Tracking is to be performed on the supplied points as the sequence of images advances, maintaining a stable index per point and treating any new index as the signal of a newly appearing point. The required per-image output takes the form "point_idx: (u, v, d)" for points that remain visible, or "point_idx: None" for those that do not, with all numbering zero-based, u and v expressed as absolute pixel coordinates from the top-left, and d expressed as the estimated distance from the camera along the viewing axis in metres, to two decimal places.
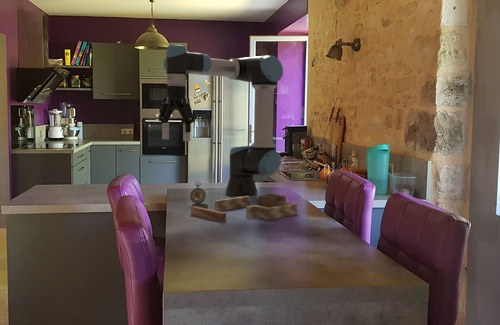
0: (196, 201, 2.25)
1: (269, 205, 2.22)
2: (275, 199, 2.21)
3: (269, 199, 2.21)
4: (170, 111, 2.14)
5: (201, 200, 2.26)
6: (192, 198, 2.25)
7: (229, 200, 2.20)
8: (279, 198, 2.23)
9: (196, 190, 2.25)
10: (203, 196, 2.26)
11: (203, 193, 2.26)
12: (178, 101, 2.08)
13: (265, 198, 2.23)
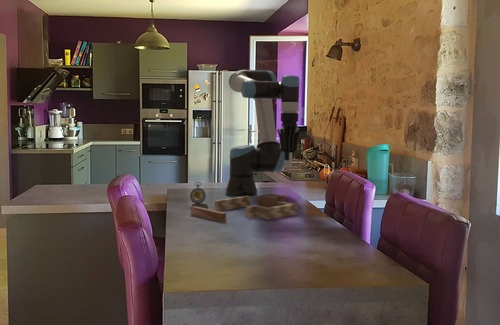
0: (196, 201, 2.25)
1: (270, 205, 2.21)
2: (276, 199, 2.21)
3: (270, 199, 2.21)
4: (290, 137, 2.31)
5: (201, 200, 2.26)
6: (192, 198, 2.25)
7: (229, 200, 2.20)
8: (280, 198, 2.23)
9: (196, 190, 2.25)
10: (203, 196, 2.26)
11: (203, 193, 2.26)
12: None
13: (266, 198, 2.23)
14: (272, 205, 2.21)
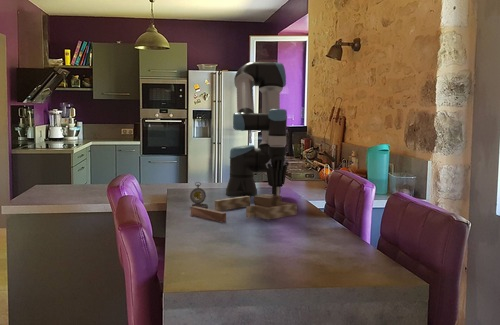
0: (196, 201, 2.25)
1: (265, 206, 2.20)
2: (272, 199, 2.20)
3: (266, 199, 2.20)
4: None
5: (201, 200, 2.26)
6: (192, 198, 2.25)
7: (229, 200, 2.20)
8: (275, 198, 2.21)
9: (196, 190, 2.25)
10: (203, 196, 2.26)
11: (203, 193, 2.26)
12: None
13: (261, 198, 2.21)
14: (268, 205, 2.19)
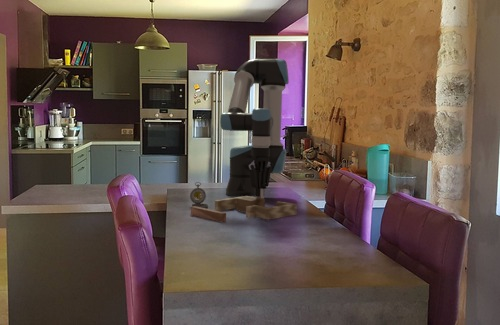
0: (196, 201, 2.25)
1: None
2: (254, 202, 2.13)
3: (247, 202, 2.13)
4: (261, 173, 2.20)
5: (201, 200, 2.26)
6: (192, 198, 2.25)
7: (229, 200, 2.20)
8: (258, 201, 2.15)
9: (196, 190, 2.25)
10: (203, 196, 2.26)
11: (203, 193, 2.26)
12: None
13: (243, 201, 2.15)
14: None
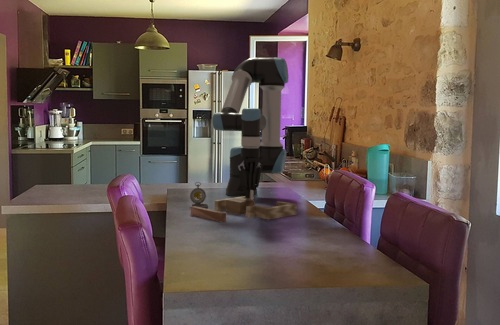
0: (196, 201, 2.25)
1: (236, 210, 2.09)
2: (243, 204, 2.09)
3: (236, 203, 2.09)
4: (251, 174, 2.16)
5: (201, 200, 2.26)
6: (192, 198, 2.25)
7: None
8: (247, 202, 2.11)
9: (196, 190, 2.25)
10: (203, 196, 2.26)
11: (203, 193, 2.26)
12: None
13: (232, 202, 2.10)
14: (238, 210, 2.08)
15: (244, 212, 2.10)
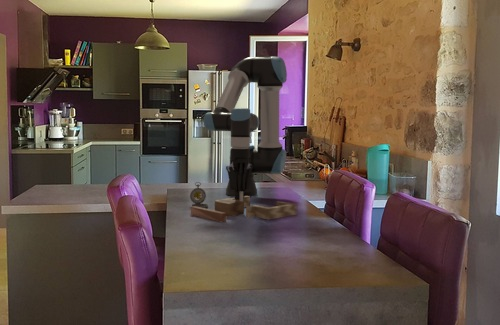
0: (196, 201, 2.25)
1: (225, 211, 2.05)
2: (232, 205, 2.05)
3: (225, 205, 2.05)
4: None
5: (201, 200, 2.26)
6: (192, 198, 2.25)
7: None
8: (236, 204, 2.07)
9: (196, 190, 2.25)
10: (203, 196, 2.26)
11: (203, 193, 2.26)
12: None
13: (221, 204, 2.07)
14: (227, 211, 2.04)
15: (233, 214, 2.06)
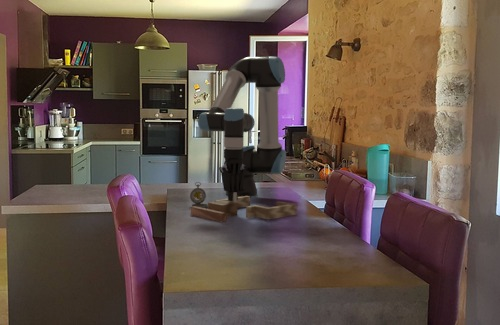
0: (196, 201, 2.25)
1: None
2: (225, 207, 2.03)
3: (218, 206, 2.03)
4: (234, 175, 2.09)
5: (201, 200, 2.26)
6: (192, 198, 2.25)
7: None
8: (230, 205, 2.04)
9: (196, 190, 2.25)
10: (203, 196, 2.26)
11: (203, 193, 2.26)
12: None
13: (214, 205, 2.04)
14: None
15: (226, 215, 2.03)
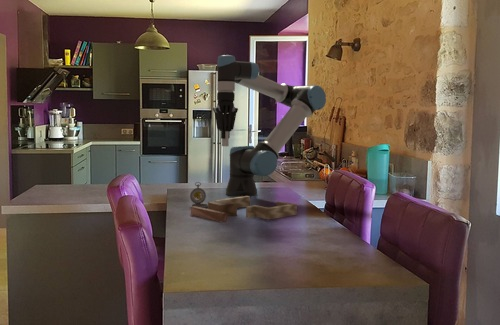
0: (196, 201, 2.25)
1: None
2: (223, 207, 2.02)
3: (216, 206, 2.03)
4: (226, 116, 2.35)
5: (201, 200, 2.26)
6: (192, 198, 2.24)
7: (229, 200, 2.20)
8: (228, 205, 2.04)
9: (196, 190, 2.25)
10: (203, 196, 2.26)
11: (203, 193, 2.26)
12: None
13: (213, 205, 2.05)
14: None
15: None
